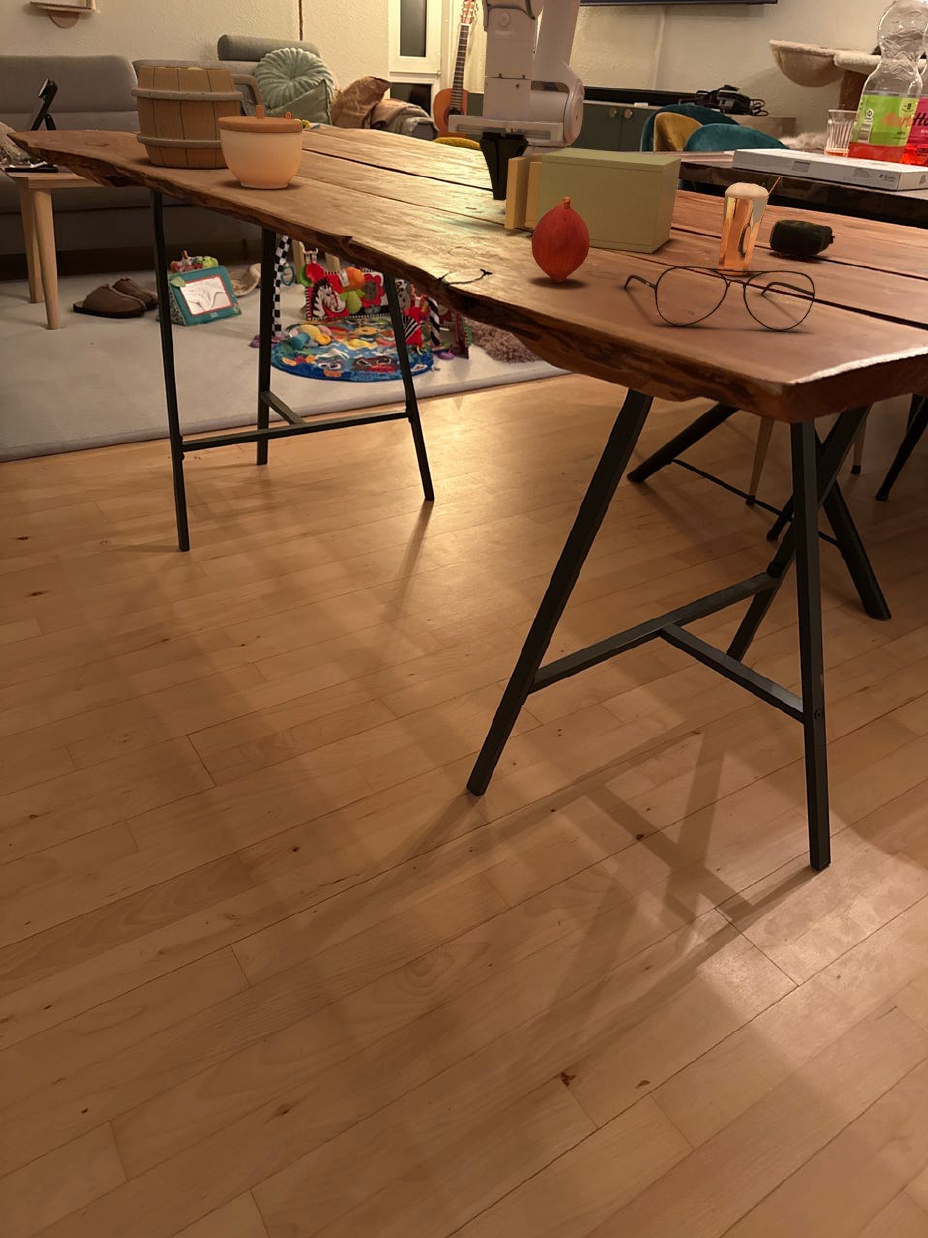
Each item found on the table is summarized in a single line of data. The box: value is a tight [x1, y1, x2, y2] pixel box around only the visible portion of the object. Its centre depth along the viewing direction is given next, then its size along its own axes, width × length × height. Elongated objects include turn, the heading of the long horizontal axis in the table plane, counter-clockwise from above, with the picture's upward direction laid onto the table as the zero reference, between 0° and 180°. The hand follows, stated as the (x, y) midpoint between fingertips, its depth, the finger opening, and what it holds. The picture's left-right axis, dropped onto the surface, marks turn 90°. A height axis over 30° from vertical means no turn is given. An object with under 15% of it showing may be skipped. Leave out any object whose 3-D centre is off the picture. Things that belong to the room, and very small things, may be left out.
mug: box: [130, 64, 268, 169], centre depth 164 cm, size 19×25×15 cm
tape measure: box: [768, 219, 836, 259], centre depth 114 cm, size 7×7×4 cm
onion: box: [531, 197, 591, 283], centre depth 93 cm, size 6×6×8 cm
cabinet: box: [537, 147, 682, 254], centre depth 116 cm, size 15×12×10 cm
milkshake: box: [717, 176, 781, 277], centre depth 101 cm, size 4×5×10 cm
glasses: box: [623, 265, 816, 332], centre depth 87 cm, size 14×15×5 cm
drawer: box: [503, 153, 542, 230], centre depth 117 cm, size 15×10×8 cm
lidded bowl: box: [218, 105, 304, 190], centre depth 143 cm, size 13×13×11 cm
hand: (500, 199), depth 120 cm, fingers closed
